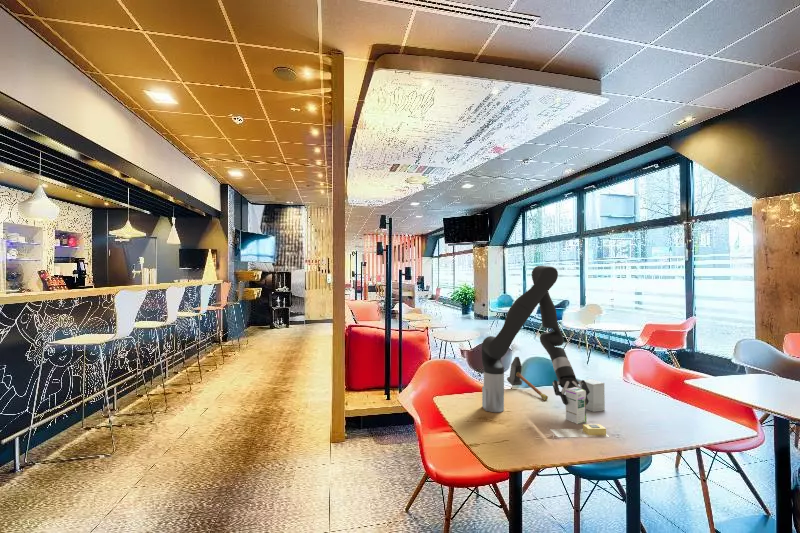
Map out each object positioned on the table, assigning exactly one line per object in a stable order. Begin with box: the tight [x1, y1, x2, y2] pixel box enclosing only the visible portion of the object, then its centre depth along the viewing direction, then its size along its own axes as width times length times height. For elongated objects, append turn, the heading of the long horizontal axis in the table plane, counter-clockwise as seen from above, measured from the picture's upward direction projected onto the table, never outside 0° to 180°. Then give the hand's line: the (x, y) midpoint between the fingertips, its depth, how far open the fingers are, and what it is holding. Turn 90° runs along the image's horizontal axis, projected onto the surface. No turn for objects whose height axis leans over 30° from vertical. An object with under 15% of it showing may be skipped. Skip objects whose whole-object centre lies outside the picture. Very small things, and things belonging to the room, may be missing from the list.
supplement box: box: [580, 378, 606, 413], centre depth 172 cm, size 7×7×13 cm
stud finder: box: [582, 423, 607, 435], centre depth 142 cm, size 7×4×3 cm, turn 92°
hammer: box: [506, 356, 549, 401], centre depth 196 cm, size 6×16×30 cm
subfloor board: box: [549, 428, 610, 438], centre depth 142 cm, size 20×14×1 cm
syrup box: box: [564, 387, 587, 425], centre depth 154 cm, size 6×6×14 cm
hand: (576, 404), depth 153 cm, fingers open, 8 cm apart
